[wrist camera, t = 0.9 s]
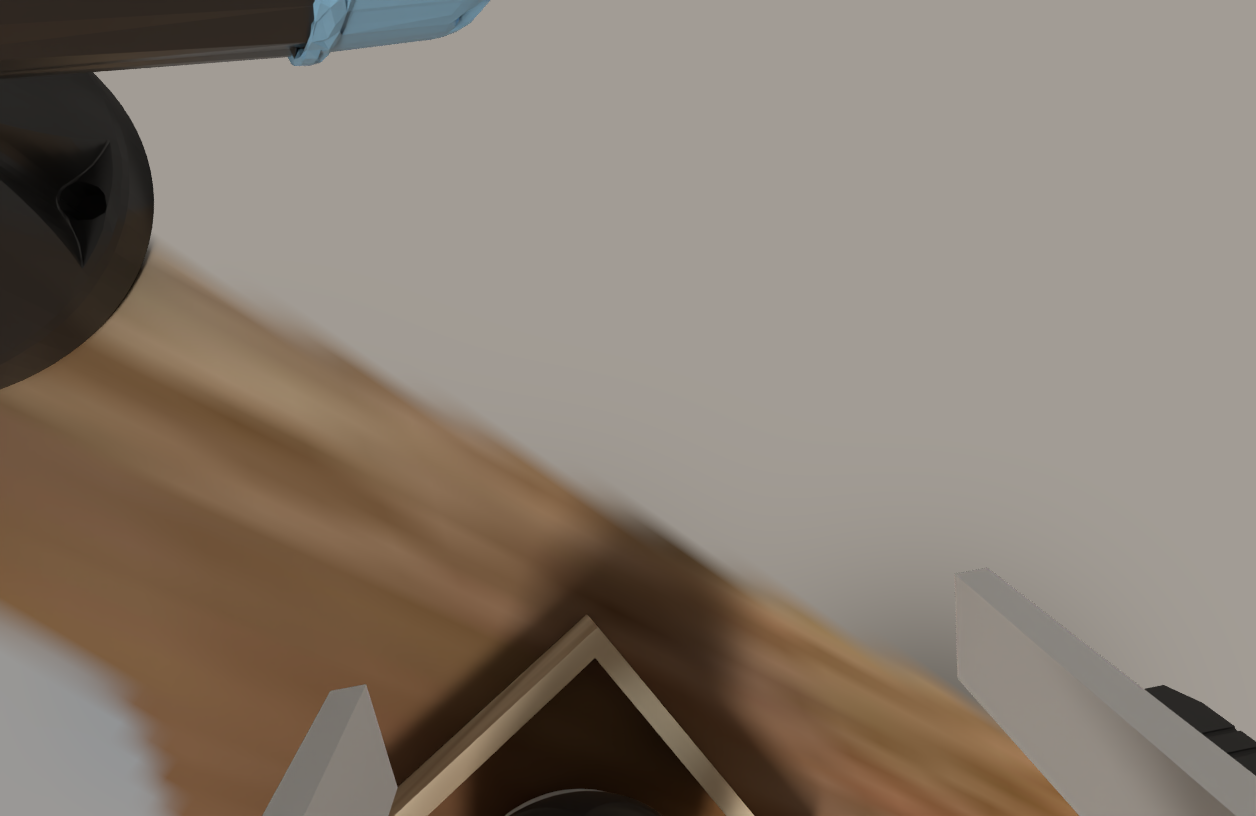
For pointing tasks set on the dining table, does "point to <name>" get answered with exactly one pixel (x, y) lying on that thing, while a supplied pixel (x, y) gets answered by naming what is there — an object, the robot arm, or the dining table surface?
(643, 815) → the black tall egg-shaped piece
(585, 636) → the square picture frame
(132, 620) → the dining table surface
